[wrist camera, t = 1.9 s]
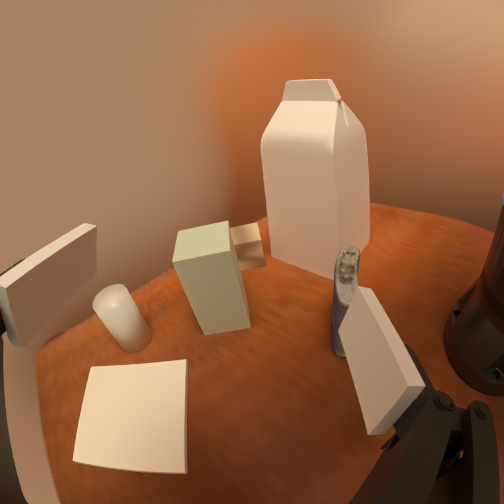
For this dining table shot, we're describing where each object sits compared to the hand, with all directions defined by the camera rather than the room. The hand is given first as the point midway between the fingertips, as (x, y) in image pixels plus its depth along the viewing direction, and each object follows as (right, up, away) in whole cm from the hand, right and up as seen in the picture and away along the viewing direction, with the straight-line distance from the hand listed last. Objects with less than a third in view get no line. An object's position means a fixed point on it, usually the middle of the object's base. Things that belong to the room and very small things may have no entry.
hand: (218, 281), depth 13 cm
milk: (+13, +2, +33) cm, 35 cm away
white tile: (-12, -17, +13) cm, 25 cm away
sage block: (-2, -7, +25) cm, 26 cm away
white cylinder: (-14, -11, +23) cm, 29 cm away
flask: (+13, -8, +20) cm, 25 cm away
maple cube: (+1, 0, +34) cm, 34 cm away
